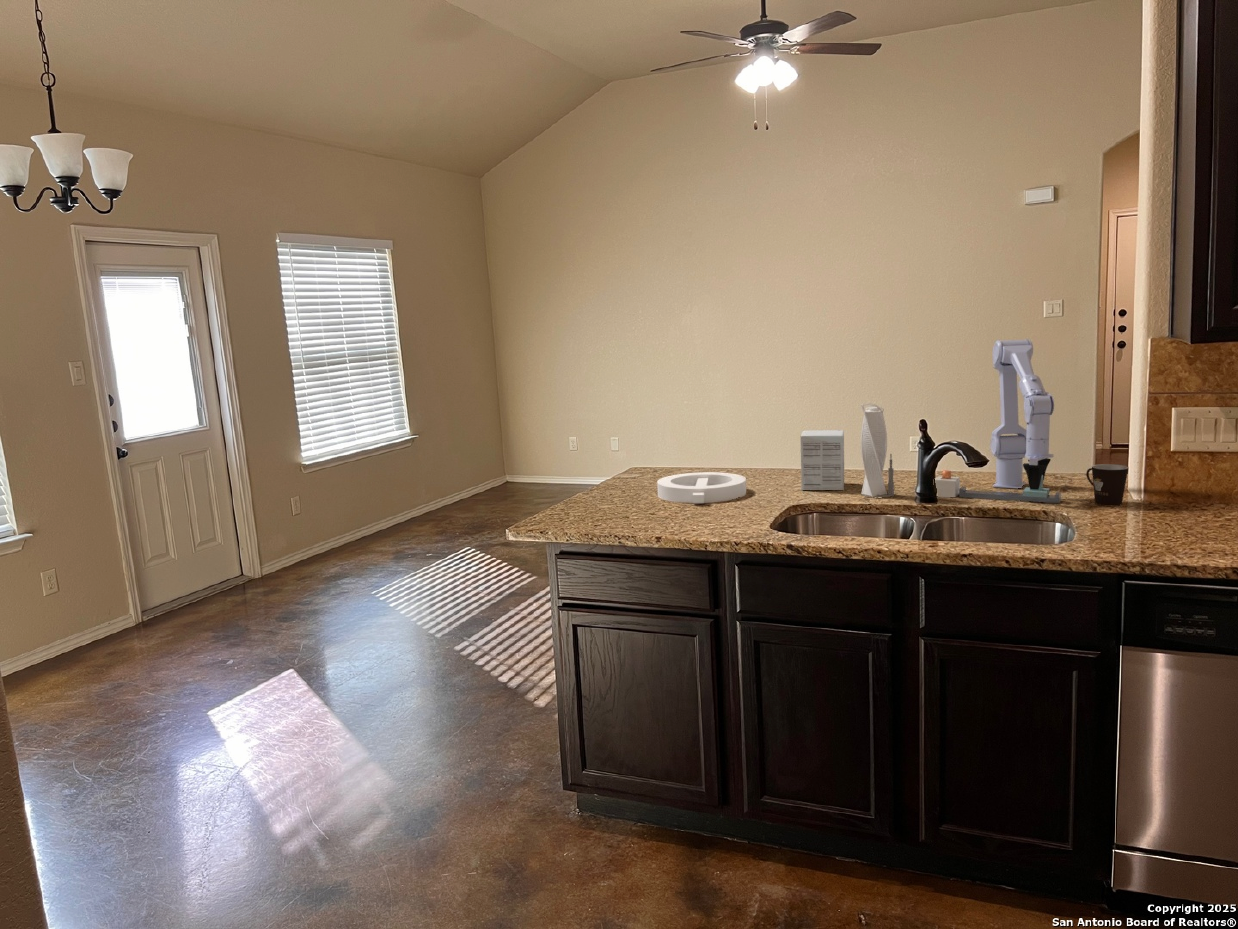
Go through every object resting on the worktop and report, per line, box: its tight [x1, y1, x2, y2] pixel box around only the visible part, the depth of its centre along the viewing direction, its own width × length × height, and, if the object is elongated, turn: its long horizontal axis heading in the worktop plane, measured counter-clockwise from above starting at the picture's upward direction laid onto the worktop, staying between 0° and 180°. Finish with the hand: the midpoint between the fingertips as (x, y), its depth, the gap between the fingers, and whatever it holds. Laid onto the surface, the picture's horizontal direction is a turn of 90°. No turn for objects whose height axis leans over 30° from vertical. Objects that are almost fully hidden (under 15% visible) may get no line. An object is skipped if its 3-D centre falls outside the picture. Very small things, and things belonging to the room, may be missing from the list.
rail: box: [958, 486, 1062, 504], centre depth 247 cm, size 4×26×2 cm, turn 57°
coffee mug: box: [1085, 463, 1129, 506], centre depth 237 cm, size 12×9×10 cm
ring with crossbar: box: [656, 471, 747, 504], centre depth 277 cm, size 28×28×5 cm
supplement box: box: [799, 429, 845, 491], centre depth 277 cm, size 13×13×18 cm
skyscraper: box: [860, 402, 896, 498], centre depth 259 cm, size 8×8×28 cm
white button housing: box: [934, 475, 961, 498], centre depth 256 cm, size 6×6×5 cm
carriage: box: [1022, 475, 1051, 498], centre depth 243 cm, size 6×6×5 cm
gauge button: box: [941, 469, 952, 479], centre depth 256 cm, size 2×2×2 cm
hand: (1036, 486), depth 243 cm, fingers open, 7 cm apart
